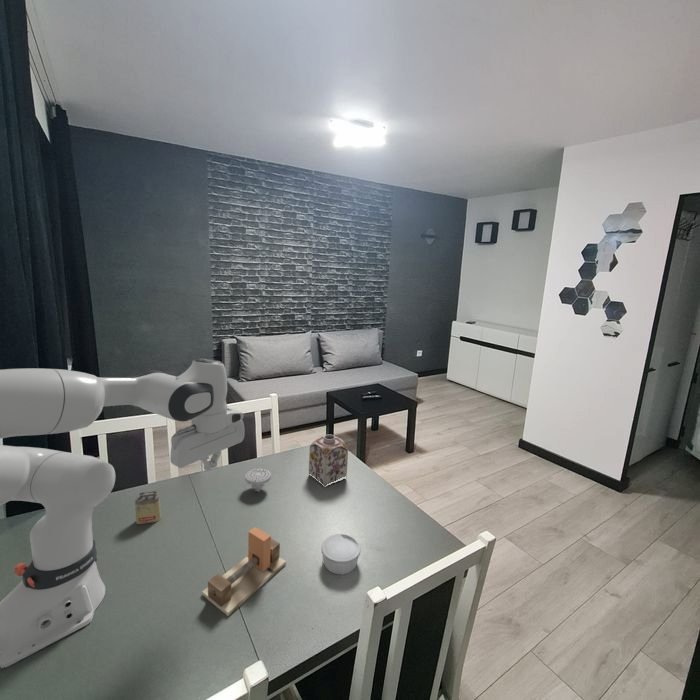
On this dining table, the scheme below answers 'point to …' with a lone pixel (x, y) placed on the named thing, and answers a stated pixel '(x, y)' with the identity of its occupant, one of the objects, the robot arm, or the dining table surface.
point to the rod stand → (241, 581)
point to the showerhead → (257, 478)
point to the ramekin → (340, 553)
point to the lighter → (147, 508)
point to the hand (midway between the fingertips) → (210, 468)
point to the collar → (259, 548)
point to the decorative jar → (328, 459)
